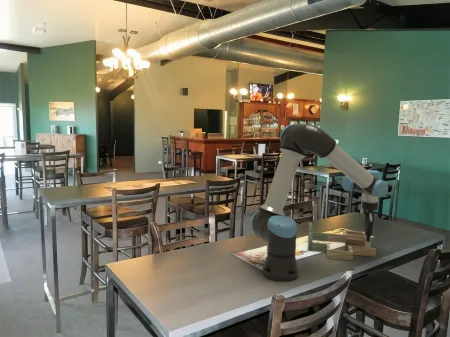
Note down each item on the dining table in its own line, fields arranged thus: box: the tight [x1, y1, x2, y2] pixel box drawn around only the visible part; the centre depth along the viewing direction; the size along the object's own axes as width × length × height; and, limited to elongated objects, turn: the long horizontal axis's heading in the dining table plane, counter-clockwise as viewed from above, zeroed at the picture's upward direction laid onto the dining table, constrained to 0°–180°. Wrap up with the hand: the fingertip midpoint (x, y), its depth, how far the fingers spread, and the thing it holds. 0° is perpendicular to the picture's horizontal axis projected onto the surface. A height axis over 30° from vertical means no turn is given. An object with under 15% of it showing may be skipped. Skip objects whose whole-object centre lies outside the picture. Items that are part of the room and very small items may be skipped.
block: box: [344, 234, 365, 251], centre depth 182 cm, size 9×9×6 cm
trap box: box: [307, 222, 377, 262], centre depth 183 cm, size 36×32×9 cm
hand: (367, 247), depth 181 cm, fingers closed
